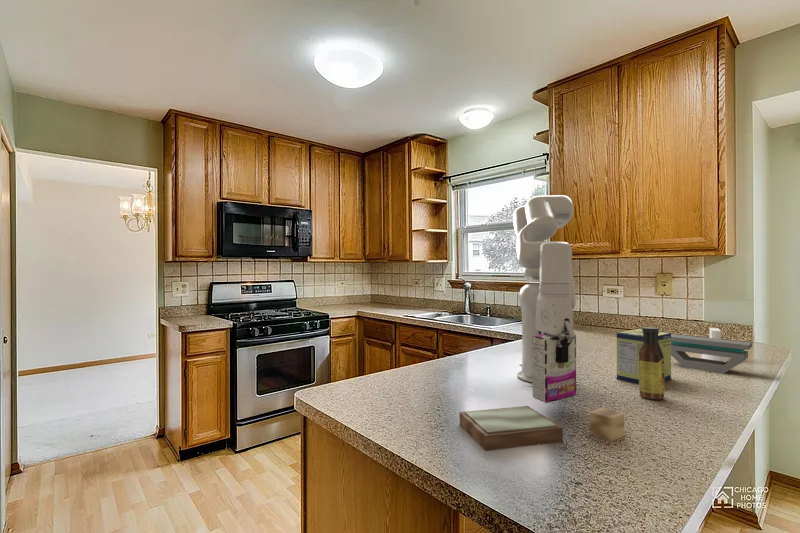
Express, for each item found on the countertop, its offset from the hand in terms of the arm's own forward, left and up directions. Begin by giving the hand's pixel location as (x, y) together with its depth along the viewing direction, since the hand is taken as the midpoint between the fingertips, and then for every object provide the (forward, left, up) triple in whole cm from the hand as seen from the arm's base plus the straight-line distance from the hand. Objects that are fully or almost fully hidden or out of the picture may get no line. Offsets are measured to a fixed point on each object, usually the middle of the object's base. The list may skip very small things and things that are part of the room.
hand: (554, 358), depth 106 cm
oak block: (+16, +3, -14) cm, 21 cm away
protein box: (-19, +47, -14) cm, 52 cm away
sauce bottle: (-3, +34, -14) cm, 37 cm away
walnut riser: (+10, -18, -14) cm, 25 cm away
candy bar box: (0, 0, -10) cm, 10 cm away
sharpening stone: (-25, +80, -14) cm, 85 cm away
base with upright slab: (-36, +98, -14) cm, 105 cm away
